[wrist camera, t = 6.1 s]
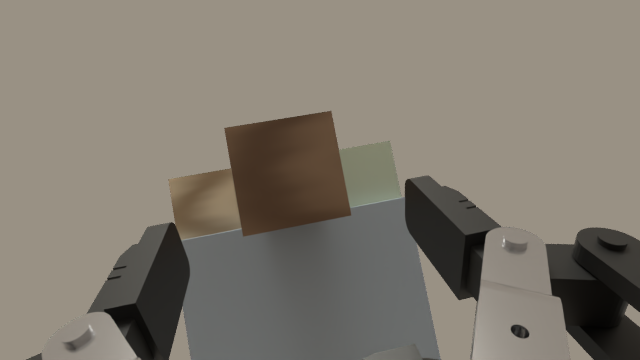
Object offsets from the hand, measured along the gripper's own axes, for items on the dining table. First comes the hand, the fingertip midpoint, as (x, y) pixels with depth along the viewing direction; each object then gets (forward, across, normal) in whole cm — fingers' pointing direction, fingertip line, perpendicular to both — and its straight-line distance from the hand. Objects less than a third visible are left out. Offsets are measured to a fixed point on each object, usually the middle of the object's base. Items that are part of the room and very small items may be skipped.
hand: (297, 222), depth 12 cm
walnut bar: (+10, 0, +6) cm, 11 cm away
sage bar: (+14, -6, +8) cm, 17 cm away
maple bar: (+14, +6, +8) cm, 17 cm away
